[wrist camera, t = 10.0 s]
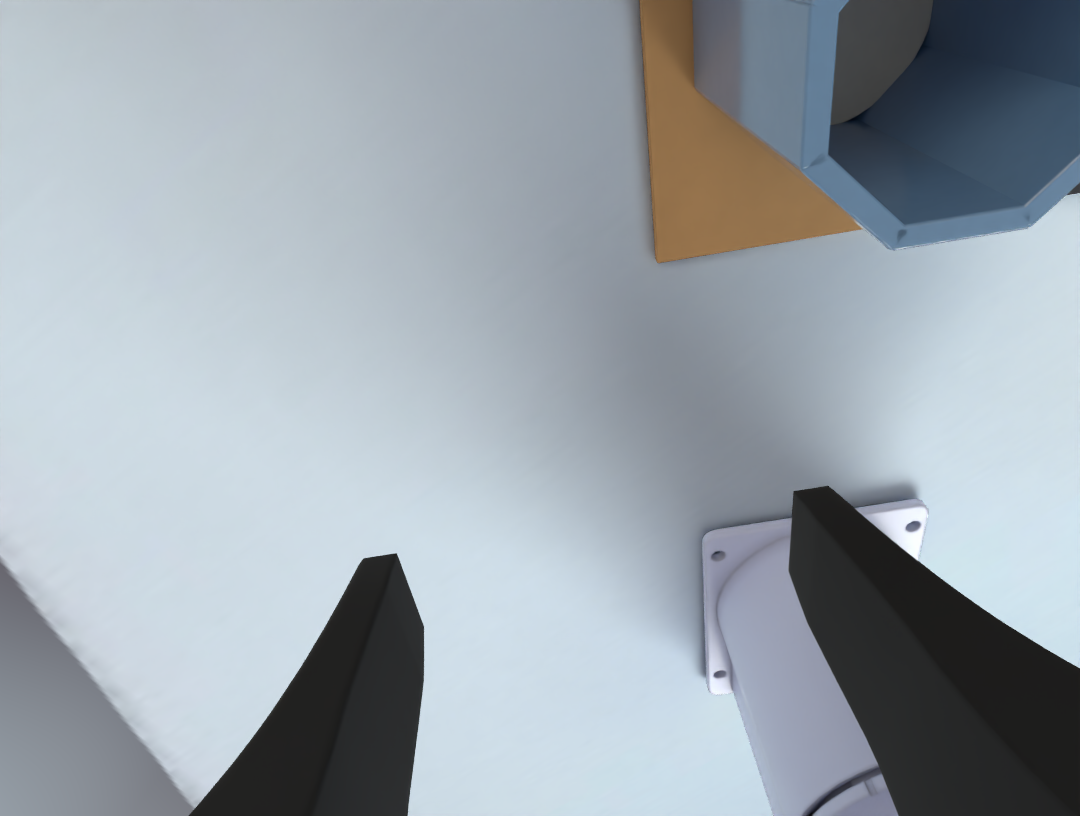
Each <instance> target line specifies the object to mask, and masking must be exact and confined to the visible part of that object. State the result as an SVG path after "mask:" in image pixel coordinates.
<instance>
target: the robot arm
mask: <svg viewBox="0 0 1080 816" xmlns="http://www.w3.org/2000/svg"><path fill="white" fill-rule="evenodd" d="M928 514H929V510H928V508H927V507H926V505H925V504H924V503H923V501H922V500H919V499H909V500H903V501H896V502H890V503H883V504H877V505H871V506H864V507H858V508H854V507H853V506H851V505H850V504H849V503H848V502H847V501H846V500H844V499H843V498H842V497H841V496H840V495H839V494H837V493H836V492H835V491H834V490H833V489H831V488H830V487H829V486H824V487H818V488H812V489H805V490H799V491H794V493H793V509H792V518H787V519H780V520H774V521H767V522H761V523H754V524H748V525H742V526H735V527H729V528H722V529H716V530H712V531H710V532H708V533H707V534H705V536H704V537H703V539H702V558H703V591H704V623H705V655H706V684H707V687H708V690H709V692H710V693H711V694H714V695H724V694H730V693H734V696H735V699H736V702H737V705H738V708H739V711H740V714H741V717H742V720H743V723H744V727H745V730H746V733H747V736H748V739H749V742H750V745H751V748H752V751H753V754H754V757H755V760H756V763H757V766H758V770H759V773H760V776H761V779H762V782H763V785H764V788H765V791H766V794H767V797H768V800H769V803H770V806H771V810H772V813H773V816H1080V668H1078V667H1076V666H1074V665H1073V664H1071V663H1069V662H1067V661H1066V660H1064V659H1062V658H1060V657H1059V656H1057V655H1055V654H1053V653H1052V652H1050V651H1048V650H1047V649H1045V648H1043V647H1042V646H1040V645H1038V644H1037V643H1035V642H1034V641H1032V640H1030V639H1029V638H1027V637H1026V636H1024V635H1022V634H1021V633H1019V632H1017V631H1016V630H1014V629H1013V628H1011V627H1009V626H1008V625H1006V624H1005V623H1003V622H1002V621H1000V620H999V619H997V618H996V617H994V616H993V615H991V614H990V613H988V612H987V611H985V610H984V609H982V608H981V607H979V606H978V605H977V604H975V603H974V602H972V601H971V600H970V599H968V598H967V597H965V596H964V595H963V594H961V593H960V592H958V591H957V590H956V589H954V588H953V587H951V586H950V585H949V584H947V583H946V582H945V581H943V580H942V579H941V578H939V577H938V576H937V575H935V574H934V573H933V572H932V571H930V570H929V569H928V568H927V567H925V566H924V565H923V564H921V563H920V562H919V556H920V552H921V547H922V542H923V538H924V533H925V528H926V523H927V519H928ZM910 522H911V523H910ZM717 551H720V552H719V553H716V554H715V552H717ZM423 682H424V626H423V623H422V620H421V618H420V615H419V612H418V609H417V607H416V604H415V601H414V599H413V596H412V593H411V591H410V588H409V585H408V583H407V580H406V577H405V574H404V572H403V569H402V566H401V564H400V561H399V558H398V556H397V553H395V554H389V555H383V556H376V557H370V558H364V559H363V560H362V561H361V563H360V564H359V566H358V568H357V570H356V571H355V573H354V575H353V577H352V579H351V581H350V583H349V585H348V586H347V588H346V590H345V592H344V594H343V596H342V598H341V599H340V601H339V603H338V605H337V607H336V608H335V610H334V612H333V614H332V616H331V617H330V619H329V621H328V623H327V624H326V626H325V628H324V630H323V631H322V633H321V635H320V636H319V638H318V640H317V641H316V643H315V645H314V646H313V648H312V650H311V651H310V653H309V655H308V656H307V658H306V660H305V661H304V663H303V665H302V666H301V668H300V669H299V671H298V672H297V674H296V675H295V677H294V678H293V680H292V681H291V683H290V685H289V686H288V688H287V689H286V691H285V692H284V694H283V695H282V697H281V698H280V700H279V701H278V703H277V704H276V706H275V707H274V709H273V710H272V712H271V713H270V714H269V716H268V717H267V719H266V720H265V721H264V723H263V724H262V726H261V727H260V728H259V730H258V731H257V732H256V734H255V735H254V736H253V738H252V739H251V740H250V742H249V743H248V744H247V746H246V747H245V748H244V750H243V751H242V752H241V753H240V755H239V756H238V757H237V759H236V760H235V761H234V762H233V764H232V765H231V766H230V768H229V769H228V770H227V771H226V772H225V774H224V775H223V776H222V777H221V778H220V780H219V781H218V782H217V783H216V784H215V786H214V787H213V788H212V789H211V790H210V792H209V793H208V794H207V795H206V796H205V798H204V799H203V800H202V801H201V802H200V803H199V805H198V806H197V807H196V808H195V809H194V810H193V812H192V813H191V814H190V815H189V816H407V815H408V803H409V796H410V788H411V780H412V772H413V764H414V756H415V748H416V740H417V732H418V724H419V716H420V708H421V699H422V691H423Z"/></svg>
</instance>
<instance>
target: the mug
mask: <svg viewBox="0 0 1080 816" xmlns="http://www.w3.org/2000/svg"><path fill="white" fill-rule="evenodd" d="M692 11H693V51H694V87H695V89H696V91H697V92H698V93H699V94H700V95H701V96H703V97H704V98H705V99H706V100H707V101H708V102H709V103H711V104H712V105H713V106H714V107H715V108H716V109H717V110H719V111H720V112H721V113H722V114H723V115H724V116H725V117H727V118H728V119H729V120H730V121H731V122H732V123H733V124H735V125H736V126H737V127H738V128H739V129H740V130H741V131H743V132H744V133H745V134H746V135H747V136H748V137H749V138H751V139H752V140H753V141H754V142H755V143H756V144H757V145H759V146H760V147H761V148H762V149H763V150H765V151H766V152H767V153H768V154H770V155H771V156H772V157H773V158H775V159H776V160H777V161H778V162H780V163H781V164H782V165H783V166H785V167H786V168H787V169H788V170H790V171H791V172H792V173H793V174H795V175H796V176H797V177H798V178H800V179H801V180H802V181H803V182H805V183H806V184H807V185H809V186H810V187H811V188H812V189H814V190H815V191H816V192H817V193H819V194H820V195H821V196H822V197H824V198H825V199H826V200H827V201H829V202H830V203H831V204H832V205H834V206H835V207H836V208H837V209H839V210H840V211H841V212H842V213H844V214H845V215H846V216H847V217H849V218H850V219H851V220H852V221H854V222H855V223H856V224H857V225H859V226H860V227H861V228H862V229H864V230H865V231H866V232H867V233H869V234H870V235H871V236H872V237H874V238H875V239H876V240H877V241H879V242H880V243H881V244H882V245H884V246H885V247H886V248H887V249H890V250H900V249H906V248H912V247H918V246H924V245H931V244H937V243H943V242H949V241H955V240H961V239H967V238H973V237H979V236H985V235H991V234H998V233H1004V232H1010V231H1016V230H1022V229H1027V228H1028V227H1031V226H1032V225H1034V224H1035V223H1036V222H1037V221H1038V220H1039V219H1040V218H1041V217H1042V216H1043V215H1045V214H1046V213H1047V212H1048V211H1049V210H1050V209H1051V208H1052V207H1053V206H1055V205H1056V204H1057V203H1058V202H1059V201H1060V200H1061V199H1062V198H1063V197H1065V196H1066V195H1067V194H1068V193H1069V192H1070V191H1071V190H1072V189H1073V188H1074V187H1076V186H1077V185H1078V184H1079V183H1080V0H692Z"/></svg>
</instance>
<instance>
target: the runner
mask: <svg viewBox="0 0 1080 816" xmlns="http://www.w3.org/2000/svg"><path fill="white" fill-rule="evenodd" d="M639 3H640V19H641V35H642V51H643V67H644V83H645V99H646V115H647V131H648V147H649V163H650V179H651V195H652V211H653V227H654V243H655V259H656V261H657V263H662V262H668V261H674V260H680V259H686V258H692V257H698V256H704V255H710V254H716V253H722V252H728V251H734V250H740V249H746V248H752V247H758V246H764V245H770V244H776V243H782V242H788V241H794V240H800V239H806V238H812V237H818V236H824V235H830V234H836V233H842V232H848V231H854V230H860V229H862V228H861V227H860V226H859V225H857V224H856V223H855V222H854V221H852V220H851V219H850V218H849V217H847V216H846V215H845V214H844V213H842V212H841V211H840V210H839V209H837V208H836V207H835V206H834V205H832V204H831V203H830V202H829V201H827V200H826V199H825V198H824V197H822V196H821V195H820V194H819V193H817V192H816V191H815V190H814V189H812V188H811V187H810V186H809V185H807V184H806V183H805V182H803V181H802V180H801V179H800V178H798V177H797V176H796V175H795V174H793V173H792V172H791V171H790V170H788V169H787V168H786V167H785V166H783V165H782V164H781V163H780V162H778V161H777V160H776V159H775V158H773V157H772V156H771V155H770V154H768V153H767V152H766V151H765V150H763V149H762V148H761V147H760V146H759V145H757V144H756V143H755V142H754V141H753V140H752V139H751V138H749V137H748V136H747V135H746V134H745V133H744V132H743V131H741V130H740V129H739V128H738V127H737V126H736V125H735V124H733V123H732V122H731V121H730V120H729V119H728V118H727V117H725V116H724V115H723V114H722V113H721V112H720V111H719V110H717V109H716V108H715V107H714V106H713V105H712V104H711V103H709V102H708V101H707V100H706V99H705V98H704V97H703V96H701V95H700V94H699V93H698V92H697V91H696V89H695V87H694V51H693V11H692V0H639ZM1076 193H1080V183H1079V184H1078V185H1077V186H1076V187H1074V188H1073V189H1072V190H1071V191H1070V192H1069V193H1068V194H1067V195H1070V194H1076Z"/></svg>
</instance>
